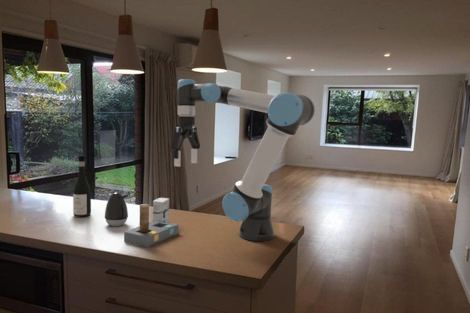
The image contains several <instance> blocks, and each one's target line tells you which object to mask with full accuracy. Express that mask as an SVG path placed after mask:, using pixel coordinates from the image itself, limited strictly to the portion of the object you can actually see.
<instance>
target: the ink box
mask: <svg viewBox="0 0 470 313" xmlns="http://www.w3.org/2000/svg"><path fill="white" fill-rule="evenodd" d="M156 220H158V221H163V222H168V223H170V222H169V221H170V198H168V197H167V198H166V197H159V198H156V199H154V200H153V201H152V222H153V221H156Z"/></svg>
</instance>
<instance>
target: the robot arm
mask: <svg viewBox="0 0 470 313" xmlns="http://www.w3.org/2000/svg"><path fill="white" fill-rule="evenodd" d="M176 91H177V115H178V116H177V125H178V126H176V127H175V128H174V134H173V138H172V142H171V144H170V150H171V151H173V159H174V160H173V166H174V167H181V158H182V157H181V148H182V145H183V143H184V142H185V141H184V140H185V139H188V142H189V143H190V145H191V149H190V163H191V164H198V149H200V148H201V143H200V139H199V135H198V129H197V127H196V126H195V124H196V103H214V104H216V103H217V104H223V105H227V106H233V107H237V108H243V109H247V110H251V111H256V112H261V113H266V114H268V117H267V119H266V121H265V122H266V125H267V128H266V131H265V132H264V134H263V136H262V139H261V140H260V142H259V145H257V148H256V151H255V153H254V154H253V156H252V158H251V160H250V162H249V164H248V166H247V168H246V170H245V172H244V175H243V177H242V178H241V180H237V181H236V182H235V184H234V186H233V188H232V190H231V191H229V192H228V193H226V194H225V195H224V196H223V199H222V202H221V204H222V209H223V213H224V214H225V216H226V217H227V218H228V219H230V220H231V221H233V222H240V221H241V224H240V227H239V232H238V236H239V237H240V238H242V239H243V240H247V241H251V242H252V241H253V242H266V241H271V240H273V239H274V237H275V230H274V226H273V224H272V219H271V217H272V215H271V214H272V200H273V199H272V197H273V188H272V186H271V185H269V184H266V182H267V181H268V180H267V179H268V177H269V176H270V174H271V172H272V170H273V168H274V167H275V164H276V162H277V161H278V159H279V157H280V155H281V153H282V151H283V149H284V147H285V145H286V143H287V142H288V140H289V138H291V137H294V136H295V135H296V133H297V131H298V129H299V128H300V126H304V125H306V124H308V123H309V122H311V120H312V119H313V117H314V115H315V105H314V103H313V101H312V99H311V98H309V97H308V96H307V95H303V94H297V93H294V92H283V93H282V92H281V93H277V95H273V94H269V93H263V92H257V91H251V90H246V89H240V88H233V87H230V86H222V85H218V84H217V83H214V82H213V83H211V82H206V83H196V80H194V79H189V78H187V79H184V78H183V79H179V80H178V82H177V88H176Z"/></svg>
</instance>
